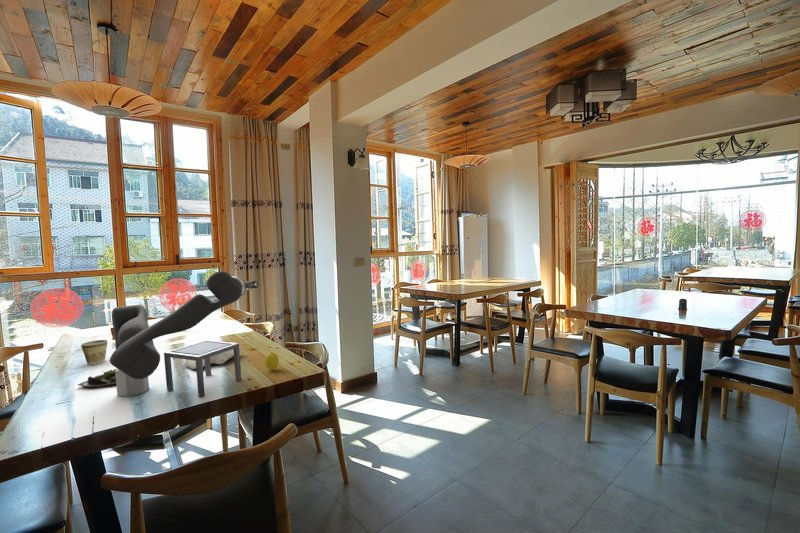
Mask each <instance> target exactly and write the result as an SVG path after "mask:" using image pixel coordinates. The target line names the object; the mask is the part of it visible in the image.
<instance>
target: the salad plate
mask: <svg viewBox="0 0 800 533" xmlns="http://www.w3.org/2000/svg"><path fill="white" fill-rule="evenodd" d="M116 370H118V369H117V368H113V370H112V369H109V370H106V371H103V373H102V374H99V375H95V376H91V375H90V376H88V378H87V380H86V381H82V382H80V383H78V384H77V386H80V387H83V388H85V389H88V390H90V389H91V390H93V389H94V390H95V389H102V388H112V387H116V376H115V371H116Z"/></svg>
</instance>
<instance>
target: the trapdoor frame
mask: <svg viewBox="0 0 800 533" xmlns="http://www.w3.org/2000/svg"><path fill="white" fill-rule="evenodd" d="M203 342H212V343H222V344H230V345H229V346H226V347H223V348H220V349H217V350H214V351H211V352H208V353H205V354H202V355H192V354H184V353H176V352H174V351H176V350H180V349H183V348H186V347H190V346H193V345H196V344H199V343H203ZM239 347H240V343H239V342H238V343H237V342H229V341H218V340H211V339H210V340H209V339H204V340H202V341H199V342H198V341H197V342H195V343H191V344H188V345H184V346H181V347H178V348H175V349H171V350H169V351H168V350H167V351H164V352H163V358H164V369H165V370H164V371H165V372H164V373H165V382H166V384H165V385H166V391H167V390H168V391H167V392H171V391H170V390H172V391H174V381H173V380H174V379H173V371H172V370H173V369H172V358H173V359H181V360H186V359H187V360H194V361H196V369H195V370H196V384H197V393H198V394H197V395H198V398H203V397H205V396H206V392H205V380H204V369H205V376H206V377H210V376H211V375H212V367H211V366H212V364H210V357H212V356H214V355H217V354H220V353H223V352H226V351H229V350H232V349H234V355H233V359H234V361H233V362H234V373H235V374H234V375H235V381H241V380H242V371H241V370H242V368H241V367H242V366H241V358H240V356H241V355H240V354H241V353H240V352H239ZM203 359H205V366H204V367H203V364H202V360H203ZM209 375H210V376H209Z"/></svg>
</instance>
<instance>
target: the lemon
mask: <svg viewBox="0 0 800 533" xmlns="http://www.w3.org/2000/svg"><path fill="white" fill-rule="evenodd" d="M264 364H265V367H266V368H267V369H268V370H271V371H274V370H275V369H276V368H277V367H278V366H279V356H278V354H276V353H274V352H272V351H271V352H269V353H268V354H266V357H265V359H264Z"/></svg>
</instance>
